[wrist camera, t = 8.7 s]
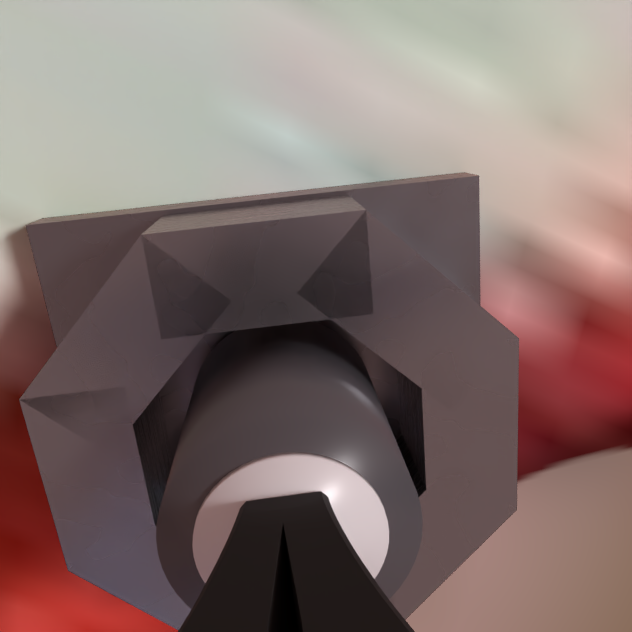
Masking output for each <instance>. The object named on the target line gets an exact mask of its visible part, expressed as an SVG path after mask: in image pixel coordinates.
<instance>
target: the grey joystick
mask: <svg viewBox="0 0 632 632" xmlns="http://www.w3.org/2000/svg"><path fill="white" fill-rule="evenodd" d="M26 229H27V233H28V236H29V240H30V244H31V248H32V252H33V256H34V260H35V264H36V268H37V272H38V276H39V279H40V283H41V287H42V291H43V295H44V299H45V303H46V307H47V311H48V315H49V319H50V322H51V326H52V330H53V334H54V338H55V342H56V346H57V349H56V350H55V352H54V353H53V354H52V356H51V357H50V358H49V360H48V361H47V362H46V364H45V365H44V366H43V368H42V369H41V371H40V372H39V373H38V375H37V376H36V377H35V379H34V380H33V381H32V383H31V384H30V385H29V387H28V388H27V389H26V391H25V392H24V394H23V395H22V396H21V398H20V399H19V401H20V405H21V408H22V411H23V415H24V418H25V422H26V425H27V429H28V432H29V436H30V439H31V443H32V446H33V450H34V453H35V457H36V460H37V464H38V467H39V471H40V474H41V478H42V481H43V485H44V488H45V492H46V495H47V499H48V502H49V506H50V509H51V513H52V516H53V520H54V523H55V527H56V530H57V534H58V537H59V541H60V544H61V548H62V551H63V555H64V558H65V562H66V565H67V569H68V571H70V572H71V573H73V574H75V575H77V576H79V577H81V578H83V579H84V580H86V581H88V582H90V583H92V584H94V585H96V586H97V587H99V588H101V589H103V590H105V591H107V592H109V593H110V594H112V595H114V596H116V597H118V598H120V599H122V600H123V601H125V602H127V603H129V604H131V605H133V606H134V607H136V608H138V609H140V610H142V611H144V612H146V613H147V614H149V615H151V616H153V617H155V618H157V619H159V620H160V621H162V622H164V623H166V624H168V625H170V626H172V627H173V628H175V629H177V630H179V629H180V628H181V626H182V624H183V623H184V621H185V619H186V618H187V616H188V614H189V613H190V611H191V608H190V607H188V606H187V605H186V604H185V603H184V602H183V600H182V599H181V598H180V597H179V596H178V595H177V594H176V592H175V591H174V589H173V588H172V586H171V585H170V583H169V582H168V580H167V578H166V575H165V573H164V571H163V569H162V566H161V563H160V559H159V556H158V551H157V543H156V525H157V519H158V514H159V509H160V506H161V502H162V499H163V495H164V491H165V488H166V484H167V481H168V477H169V474H170V470H171V467H172V463H173V460H174V456H175V453H176V449H177V445H178V442H179V438H180V435H181V431H182V428H183V424H184V421H185V417H186V414H187V410H188V407H189V403H190V399H191V396H192V392H193V389H194V385H195V382H196V379H197V376H198V373H199V370H200V368H201V366H202V364H203V363H204V361H205V359H206V358H207V356H208V355H209V354H210V352H211V351H212V350H213V349H214V348H215V347H216V345H217V344H218V343H219V342H220V341H222V340H223V339H224V338H225V337H227V336H228V335H229V334H231V333H233V332H234V331H236V330H243V329H252V328H260V327H269V326H277V325H285V324H294V323H302V322H311V321H312V322H315V323H318V324H321V325H323V326H325V327H327V328H329V329H331V330H333V331H334V332H336V333H337V334H339V335H340V336H342V337H343V338H344V339H345V340H346V341H347V342H348V343H350V344H351V346H352V347H353V348H354V349H355V350H356V351H357V353H358V354H359V356H360V357H361V359H362V361H363V362H364V365H365V367H366V369H367V371H368V374H369V376H370V379H371V381H372V383H373V386H374V388H375V391H376V393H377V396H378V398H379V400H380V403H381V405H382V408H383V410H384V413H385V415H386V418H387V420H388V422H389V425H390V427H391V430H392V432H393V435H394V437H395V439H396V442H397V444H398V447H399V449H400V452H401V454H402V456H403V459H404V461H405V464H406V466H407V469H408V471H409V474H410V476H411V478H412V481H413V483H414V486H415V488H416V491H417V493H418V497H419V501H420V504H421V510H422V519H423V525H422V538H421V543H420V549H419V552H418V555H417V557H416V560H415V563H414V565H413V567H412V569H411V571H410V573H409V575H408V576H407V578H406V579H405V581H404V582H403V584H402V585H401V587H400V588H399V589H398V590H397V591H396V592H395V594H394V595H393V596H392V597H391V598H390V599H389V600H390V602H391V603H392V604H393V605H394V607H395V608H396V609H397V610H398V612H399V613H400V614H401V615H402V617H403V618H404V619H405V620H406V619H407V618H408V617H409V616H410V615H411V613H413V612H414V611H415V610H416V609H417V608H418V607H419V606H420V605H421V604H422V603H423V602H424V601H425V600H426V599H427V598H428V597H429V596H430V595H431V594H432V593H433V592H434V591H435V590H436V589H437V588H438V587H439V586H440V585H441V584H442V583H443V582H444V581H445V580H446V579H447V578H448V577H449V576H450V575H451V574H452V573H453V572H454V571H455V570H456V569H457V568H458V567H459V566H460V565H461V564H462V563H463V562H464V561H465V560H466V559H467V558H468V557H469V556H470V555H471V554H472V553H473V552H474V551H476V550H477V549H478V548H479V546H481V545H482V544H483V543H484V542H485V541H486V540H487V539H488V538H489V537H490V536H491V535H492V534H493V533H494V532H495V531H496V530H497V529H498V528H499V527H500V526H501V525H502V524H503V523H504V522H505V521H506V520H507V519H508V518H509V517H510V516H511V515H512V514H513V513H514V512H515V511H516V510H517V452H518V369H519V338H518V337H517V336H515V335H514V334H513V333H512V332H511V331H509V330H508V329H507V328H506V327H505V326H504V325H502V324H501V323H500V322H499V321H498V320H496V319H495V318H494V317H493V316H492V315H490V314H489V313H488V312H487V311H486V310H485V309H483V308H482V307H481V306H480V222H479V176H478V175H474V174H470V173H465V172H464V173H454V174H445V175H436V176H427V177H418V178H408V179H399V180H390V181H381V182H372V183H363V184H353V185H344V186H335V187H326V188H317V189H307V190H298V191H289V192H280V193H271V194H261V195H252V196H243V197H234V198H225V199H216V200H206V201H197V202H188V203H179V204H170V205H160V206H151V207H142V208H133V209H124V210H115V211H105V212H96V213H87V214H78V215H69V216H59V217H50V218H42V219H40V220H37V221H35V222H32V223H30V224H27V225H26Z"/></svg>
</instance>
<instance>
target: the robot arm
mask: <svg viewBox="0 0 632 632" xmlns="http://www.w3.org/2000/svg"><path fill="white" fill-rule="evenodd" d="M178 632H414V630H413V629H412V628H411V627H410V626H409V624H408V623H407V622H406V621H405V619H404V618H403V617H402V615H401V614H400V613H399V612H398V610H397V609H396V608H395V607H394V605H393V604H392V603H391V602H390V600H389V599H388V597H387V596H386V595H385V593H384V592H383V591H382V589H381V588H380V587H379V585H378V584H377V582H376V581H375V579H374V578H373V577H372V575H371V574H370V572H369V571H368V569H367V568H366V566H365V565H364V563H363V562H362V560H361V559H360V557H359V556H358V554H357V553H356V551H355V550H354V548H353V546H352V545H351V543H350V541H349V540H348V538H347V536H346V534H345V533H344V531H343V529H342V527H341V525H340V523H339V522H338V520H337V518H336V515H335V513H334V511H333V509H332V506H331V504H330V501H329V498H328V496H327V495H325V494H324V493H323V492H321V491H319V492H312V493H304V494H297V495H289V496H281V497H274V498H266V499H259V500H251V501H246V502H245V503H244V504H243V505H242V506H241V508H240V509H239V512H238V515H237V518H236V520H235V523H234V525H233V528H232V530H231V532H230V535H229V537H228V539H227V541H226V544H225V546H224V548H223V550H222V552H221V554H220V556H219V558H218V560H217V563H216V564H215V566H214V568H213V570H212V572H211V574H210V576H209V578H208V580H207V582H206V583H205V585H204V587H203V589H202V591H201V593H200V595H199V597H198V599H197V600H196V602H195V604H194V606H193V608H192V609H191V611H190V613H189V614H188V616H187V618H186V619H185V621H184V623H183V624H182V626H181V628H180V629H179V631H178Z"/></svg>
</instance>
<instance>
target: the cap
mask: <svg viewBox="0 0 632 632" xmlns="http://www.w3.org/2000/svg"><path fill="white" fill-rule="evenodd" d="M319 491H321V492H323V493H324V494H325V495H327V496H328V498H329V501H330V504H331V506H332V509H333V511H334V513H335V515H336V518H337V520H338V522H339V523H340V525H341V527H342V529H343V531H344V533H345V534H346V536H347V538H348V540H349V541H350V543H351V545H352V546H353V548H354V550H355V551H356V553H357V554H358V556H359V557H360V559H361V560H362V562H363V563H364V565H365V566H366V568H367V569H368V571H369V572H370V574H371V575H372V577H373V578H374V579H375V581H376V582H377V584H378V585H379V587H380V588H381V589H382V591H383V592H384V593H385V595H386V596H387V597H388V599H390V598H391V597H392V596H393V595H394V594H395V592H396V591H397V590H398V589H399V588H400V587H401V585H402V584H403V582H404V581H405V579H406V578H407V576H408V575H409V573H410V571H411V569H412V567H413V565H414V563H415V560H416V557H417V555H418V552H419V549H420V543H421V538H422V525H423V519H422V510H421V504H420V501H419V497H418V493H417V491H416V488H415V486H414V483H413V481H412V478H411V476H410V474H409V471H408V469H407V466H406V464H405V461H404V459H403V456H402V454H401V452H400V449H399V447H398V444H397V442H396V439H395V437H394V435H393V432H392V430H391V427H390V425H389V422H388V420H387V418H386V415H385V413H384V410H383V408H382V405H381V403H380V400H379V398H378V396H377V393H376V391H375V388H374V386H373V383H372V381H371V379H370V376H369V374H368V371H367V369H366V367H365V365H364V362H363V361H362V359H361V357H360V356H359V354H358V353H357V351H356V350H355V349H354V348H353V347H352V346H351V344H350V343H348V342H347V341H346V340H345V339H344V338H343V337H342V336H340V335H339V334H337V333H336V332H334V331H333V330H331V329H329V328H327V327H325V326H323V325H321V324H318V323H315V322H312V321H311V322H302V323H294V324H285V325H277V326H269V327H260V328H252V329H243V330H236V331H234V332H233V333H231V334H229V335H228V336H227V337H225V338H224V339H223V340H222V341H220V342H219V343H218V344H217V345H216V347H215V348H214V349H213V350H212V351H211V352H210V354H209V355H208V356H207V358H206V359H205V361H204V363H203V364H202V366H201V368H200V370H199V373H198V376H197V379H196V382H195V385H194V389H193V392H192V396H191V399H190V403H189V407H188V410H187V414H186V417H185V421H184V424H183V428H182V431H181V435H180V438H179V442H178V445H177V449H176V453H175V456H174V460H173V463H172V467H171V470H170V474H169V477H168V481H167V484H166V488H165V491H164V495H163V499H162V502H161V506H160V509H159V514H158V519H157V525H156V543H157V551H158V556H159V559H160V563H161V566H162V569H163V571H164V573H165V575H166V578H167V580H168V582H169V583H170V585H171V586H172V588H173V589H174V591H175V592H176V594H177V595H178V596H179V597H180V598H181V599H182V600H183V602H184V603H185V604H186V605H187V606H188V607H190V608H191V609H192V608H193V606H194V604H195V602H196V600H197V599H198V597H199V595H200V593H201V591H202V589H203V587H204V585H205V583H206V582H207V580H208V578H209V576H210V574H211V572H212V570H213V568H214V566H215V564H216V563H217V560H218V558H219V556H220V554H221V552H222V550H223V548H224V546H225V544H226V541H227V539H228V537H229V535H230V532H231V530H232V528H233V525H234V523H235V520H236V518H237V515H238V512H239V509H240V508H241V506H242V505H243V504H244V503H245V502H246V501H251V500H259V499H266V498H274V497H281V496H289V495H297V494H304V493H312V492H319Z"/></svg>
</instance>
